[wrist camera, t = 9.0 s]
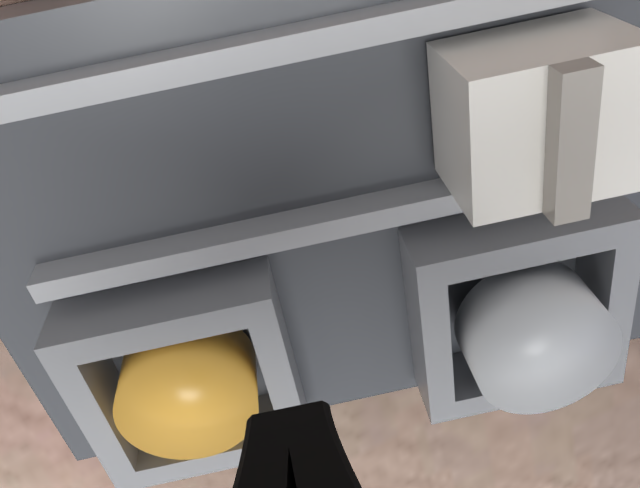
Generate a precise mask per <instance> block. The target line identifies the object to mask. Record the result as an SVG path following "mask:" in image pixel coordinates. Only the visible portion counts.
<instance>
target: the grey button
mask: <svg viewBox="0 0 640 488" xmlns="http://www.w3.org/2000/svg"><path fill="white" fill-rule="evenodd" d="M454 331H455V337H456V340H457V342H458V344H459V347H460V349H461V351H462V353H463V355H464V357H465V359H466V361H467V364H468V366H469V368H470V370H471V372H472V374H473V376H474V378H475V380H476V383H477V385H478V387H479V389H480V391H481V393H482V395H483V396H484V398H485V399H486V400H487V401H488V402H489V403H490V404H492V405H493V406H495V407H496V408H498V409H500V410H503V411H506V412H510V413H514V414H539V413H545V412H549V411H553V410H557V409H560V408H562V407H565V406H567V405H570V404H572V403H574V402H576V401H578V400H580V399H581V398H583V397H585V396H586V395H588V394H589V393H591V392H592V391H593V390H594V389H596V388H597V387H598V386H599V385H600V384H601V383H602V382H603V381H604V380H605V379H606V378H607V377H608V376H609V375H610V373H611V372H612V370H613V369H614V367H615V366H616V364H617V362H618V360H619V357H620V355H621V351H622V347H623V336H622V331H621V328H620V326H619V324H618V323H617V321H616V320H615V319H614V317H613V316H612V315H611V314H610V313H609V312H608V310H607V309H606V308H605V307H604V306H603V304H602V303H601V302H600V301H599V300H598V298H597V297H596V296H595V295H594V294H593V292H592V291H591V290H590V289H589V288H588V286H587V285H586V284H585V283H584V282H583V280H582V279H581V278H580V277H579V276H578V274H577V273H576V272H575V271H574V270H572V269H571V268H570V267H568V266H566V265H564V264H562V263H559V262H553V263H549V264H544V265H539V266H535V267H530V268H526V269H521V270H516V271H512V272H507V273H502V274H498V275H493V276H489V277H485V278H484V279H482V280H481V281H480V282H479V283H478V284H476V285H475V286H474V287H473V288H472V289H471V290H470V292H469V293H468V294H467V295H466V297H465V298H464V300H463V301H462V303H461V305H460V307H459V309H458V311H457V314H456V318H455V324H454Z"/></svg>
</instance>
